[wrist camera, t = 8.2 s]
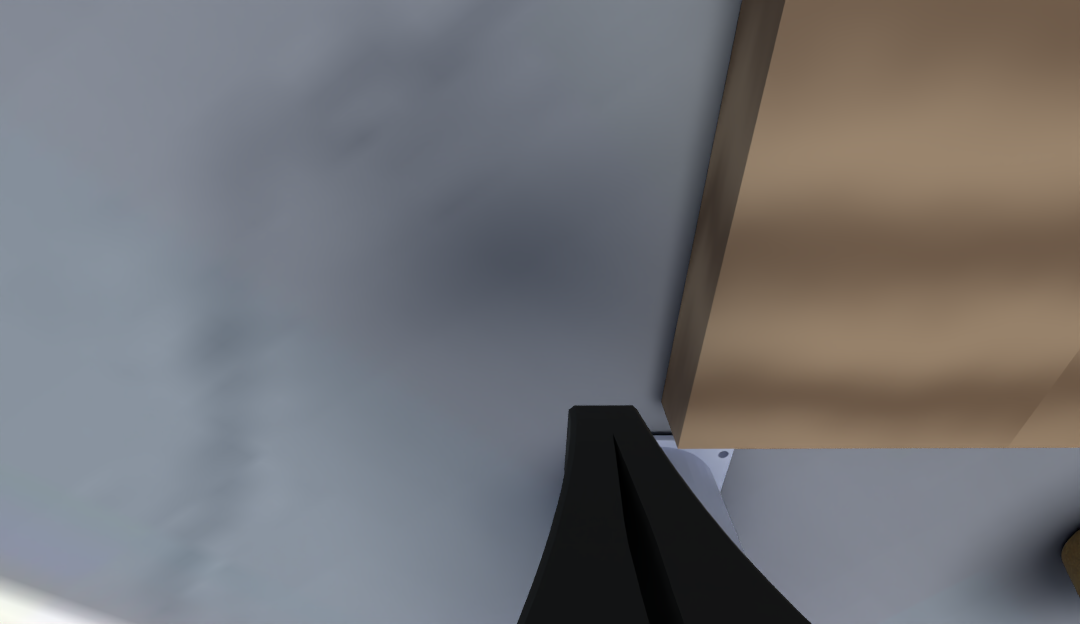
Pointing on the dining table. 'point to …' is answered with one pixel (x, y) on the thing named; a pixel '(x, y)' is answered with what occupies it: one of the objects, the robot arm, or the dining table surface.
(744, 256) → the brown wooden flat block
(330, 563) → the dining table surface
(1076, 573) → the plant pot
